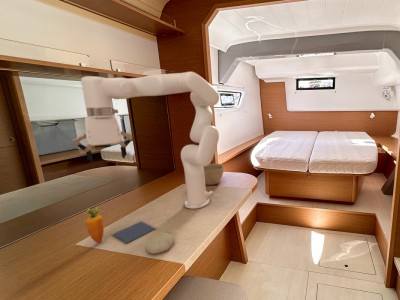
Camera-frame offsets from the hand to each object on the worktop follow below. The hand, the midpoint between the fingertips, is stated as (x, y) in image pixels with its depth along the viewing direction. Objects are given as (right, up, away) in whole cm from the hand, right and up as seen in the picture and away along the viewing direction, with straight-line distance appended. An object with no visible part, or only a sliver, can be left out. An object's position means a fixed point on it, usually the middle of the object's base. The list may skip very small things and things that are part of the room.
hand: (108, 159), depth 81 cm
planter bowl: (+22, -18, +64) cm, 70 cm away
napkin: (+4, -31, +9) cm, 32 cm away
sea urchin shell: (+20, -33, -1) cm, 38 cm away
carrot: (-5, -33, +2) cm, 33 cm away
